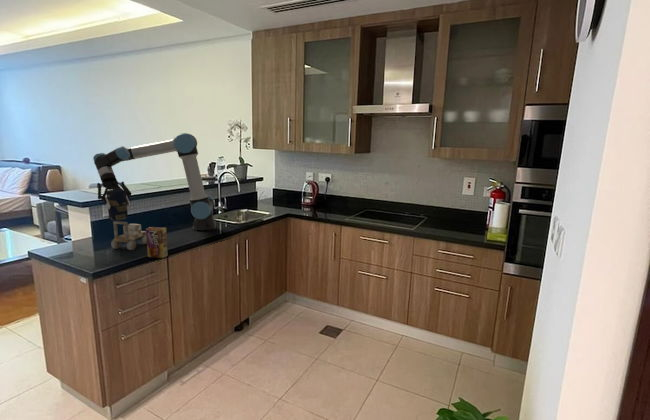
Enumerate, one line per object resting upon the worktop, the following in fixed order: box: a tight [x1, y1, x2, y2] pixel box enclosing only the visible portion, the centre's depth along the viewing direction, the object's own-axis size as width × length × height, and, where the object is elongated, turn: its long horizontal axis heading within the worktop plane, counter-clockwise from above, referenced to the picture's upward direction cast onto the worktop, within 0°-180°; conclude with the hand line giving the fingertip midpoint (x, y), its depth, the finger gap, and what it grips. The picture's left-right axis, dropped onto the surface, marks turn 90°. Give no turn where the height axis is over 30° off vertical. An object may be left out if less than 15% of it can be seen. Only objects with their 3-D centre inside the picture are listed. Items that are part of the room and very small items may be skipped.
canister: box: [106, 188, 129, 221], centre depth 196 cm, size 10×10×18 cm
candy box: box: [145, 226, 169, 259], centre depth 178 cm, size 9×4×15 cm, turn 86°
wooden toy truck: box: [110, 220, 147, 251], centre depth 193 cm, size 18×11×16 cm, turn 172°
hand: (119, 206), depth 194 cm, fingers closed on canister, 9 cm apart
